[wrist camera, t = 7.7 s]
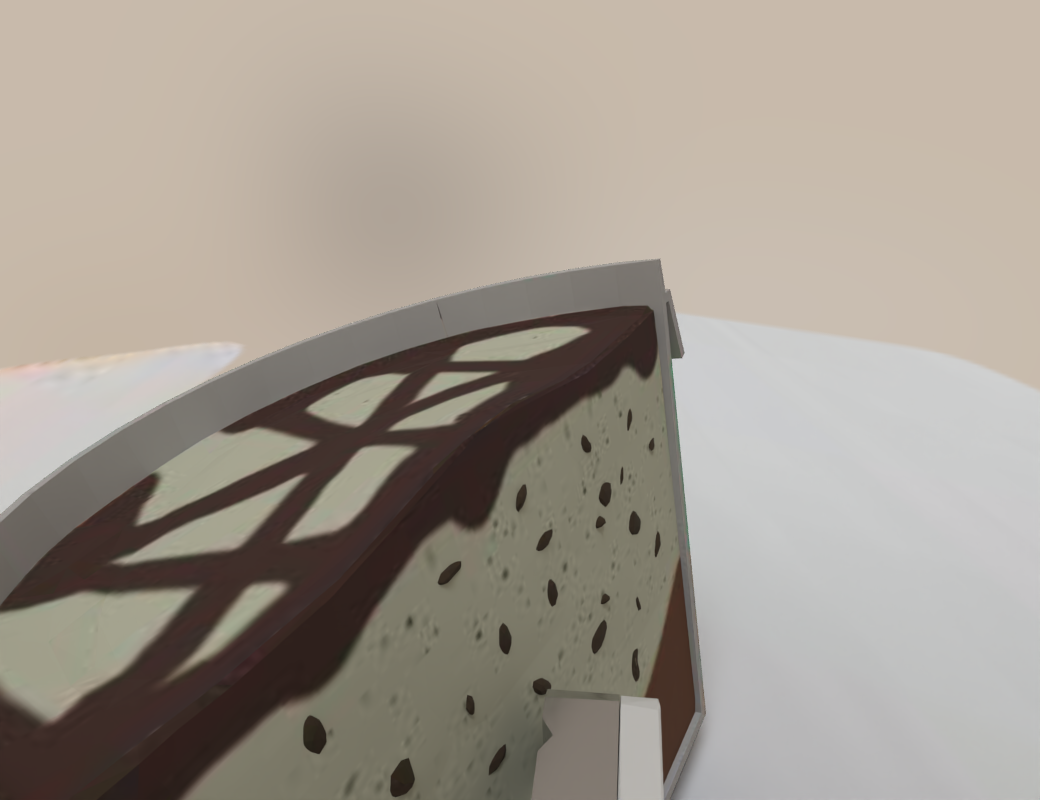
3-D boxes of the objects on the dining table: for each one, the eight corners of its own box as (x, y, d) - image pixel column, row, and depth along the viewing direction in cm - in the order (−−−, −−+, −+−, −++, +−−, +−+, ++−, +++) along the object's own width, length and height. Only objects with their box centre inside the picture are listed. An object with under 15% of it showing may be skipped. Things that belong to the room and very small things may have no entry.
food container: (512, 611, 20) (420, 272, 16) (726, 665, 16) (671, 249, 13) (92, 1132, 11) (-347, 625, 7) (375, 1504, 7) (-196, 890, 4)
